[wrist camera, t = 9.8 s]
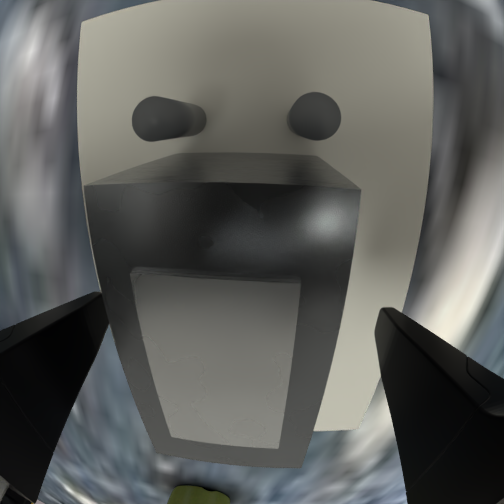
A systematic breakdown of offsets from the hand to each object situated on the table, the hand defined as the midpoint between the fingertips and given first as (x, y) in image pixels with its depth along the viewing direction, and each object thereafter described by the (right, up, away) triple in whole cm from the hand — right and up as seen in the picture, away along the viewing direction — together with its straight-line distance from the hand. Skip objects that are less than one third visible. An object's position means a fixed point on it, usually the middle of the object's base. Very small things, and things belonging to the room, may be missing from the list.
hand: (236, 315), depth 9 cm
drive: (0, +1, +3) cm, 3 cm away
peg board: (0, +2, +4) cm, 4 cm away
